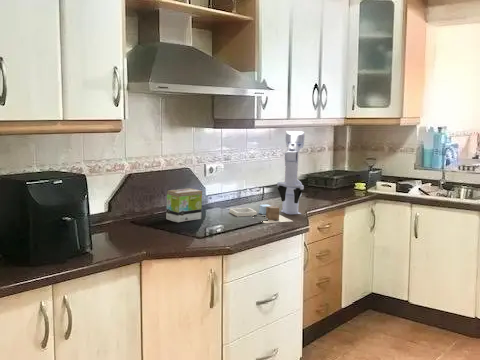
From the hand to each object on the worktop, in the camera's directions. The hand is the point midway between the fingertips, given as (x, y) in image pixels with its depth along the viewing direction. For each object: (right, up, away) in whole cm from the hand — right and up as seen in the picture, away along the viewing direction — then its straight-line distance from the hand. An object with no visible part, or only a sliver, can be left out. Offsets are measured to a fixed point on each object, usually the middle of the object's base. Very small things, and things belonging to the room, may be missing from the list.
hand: (289, 202), depth 283 cm
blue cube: (-11, -7, +17) cm, 22 cm away
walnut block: (-8, -9, +4) cm, 13 cm away
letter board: (-8, -9, +4) cm, 13 cm away
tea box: (-53, -9, -1) cm, 54 cm away
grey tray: (-23, -7, +14) cm, 28 cm away
